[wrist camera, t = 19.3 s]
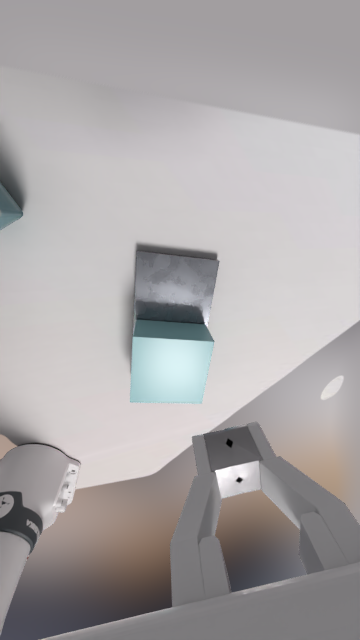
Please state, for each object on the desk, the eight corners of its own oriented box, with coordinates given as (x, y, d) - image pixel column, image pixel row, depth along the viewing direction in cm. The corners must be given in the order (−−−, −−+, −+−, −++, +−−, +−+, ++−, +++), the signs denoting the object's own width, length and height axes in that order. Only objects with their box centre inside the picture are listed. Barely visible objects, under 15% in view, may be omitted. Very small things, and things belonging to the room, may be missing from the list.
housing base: (195, 378, 44) (201, 398, 39) (132, 375, 42) (128, 397, 37) (217, 259, 35) (228, 265, 30) (137, 250, 34) (133, 254, 28)
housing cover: (195, 379, 42) (201, 403, 36) (133, 377, 41) (129, 402, 35) (205, 324, 38) (214, 341, 32) (136, 319, 36) (132, 336, 30)
